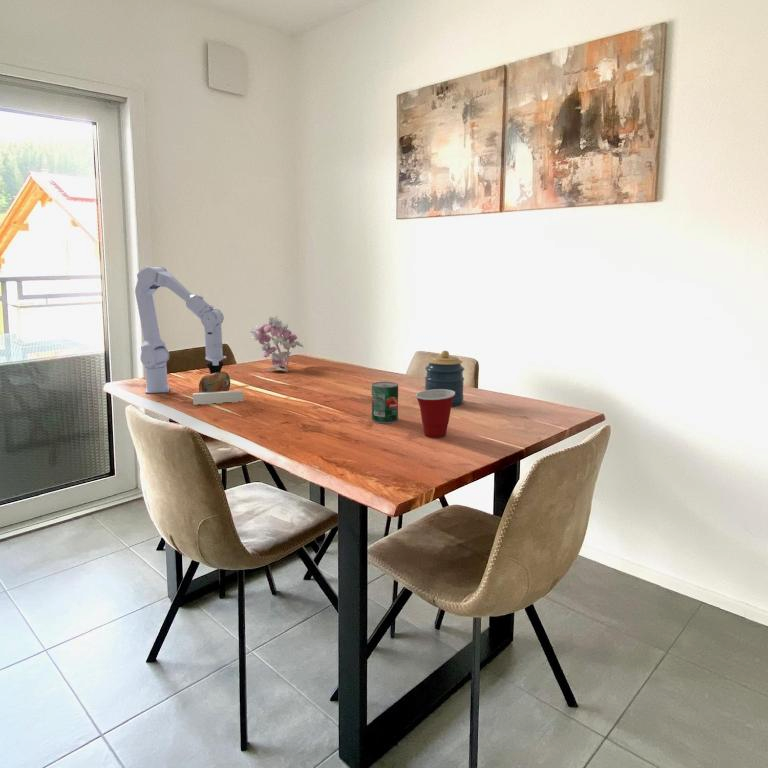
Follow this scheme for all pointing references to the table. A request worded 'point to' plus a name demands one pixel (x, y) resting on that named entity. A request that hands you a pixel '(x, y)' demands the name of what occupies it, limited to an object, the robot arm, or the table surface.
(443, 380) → the canister
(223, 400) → the board
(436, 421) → the plastic cup
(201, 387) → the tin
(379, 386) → the canned tomato
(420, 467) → the table surface
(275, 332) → the flower
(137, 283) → the robot arm
